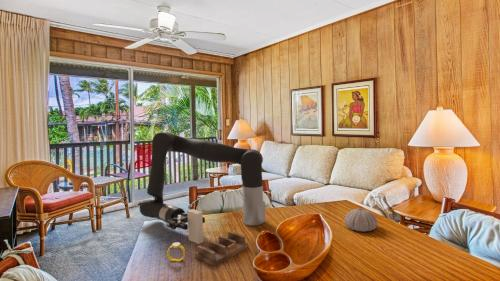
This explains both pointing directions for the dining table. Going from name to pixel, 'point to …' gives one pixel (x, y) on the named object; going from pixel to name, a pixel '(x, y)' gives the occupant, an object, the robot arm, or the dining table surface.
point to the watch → (176, 245)
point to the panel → (195, 226)
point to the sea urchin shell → (360, 220)
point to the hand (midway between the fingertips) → (195, 223)
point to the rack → (222, 249)
